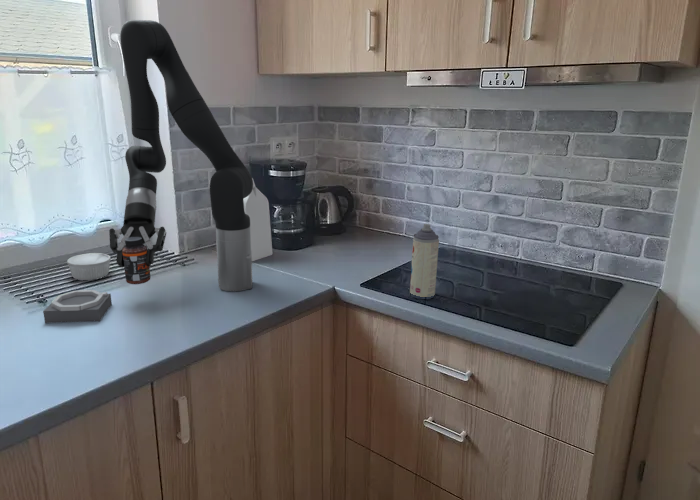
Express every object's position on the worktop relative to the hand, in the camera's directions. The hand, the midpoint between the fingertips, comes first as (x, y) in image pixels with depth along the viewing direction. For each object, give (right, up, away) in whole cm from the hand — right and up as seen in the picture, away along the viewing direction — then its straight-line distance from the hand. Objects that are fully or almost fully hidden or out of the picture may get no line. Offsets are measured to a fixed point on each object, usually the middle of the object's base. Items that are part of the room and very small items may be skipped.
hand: (134, 265), depth 132 cm
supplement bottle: (0, -4, +3) cm, 5 cm away
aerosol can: (+74, -9, +13) cm, 75 cm away
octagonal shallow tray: (-12, -12, -4) cm, 17 cm away
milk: (+20, +2, +44) cm, 48 cm away
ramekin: (-22, -4, +22) cm, 31 cm away
